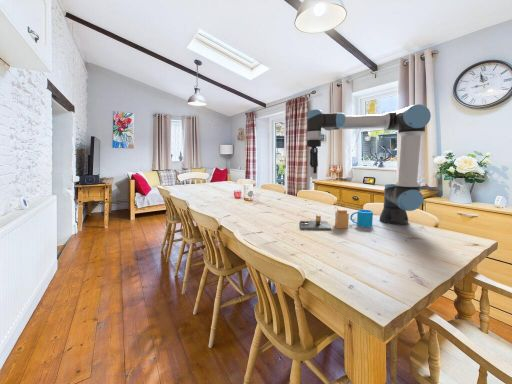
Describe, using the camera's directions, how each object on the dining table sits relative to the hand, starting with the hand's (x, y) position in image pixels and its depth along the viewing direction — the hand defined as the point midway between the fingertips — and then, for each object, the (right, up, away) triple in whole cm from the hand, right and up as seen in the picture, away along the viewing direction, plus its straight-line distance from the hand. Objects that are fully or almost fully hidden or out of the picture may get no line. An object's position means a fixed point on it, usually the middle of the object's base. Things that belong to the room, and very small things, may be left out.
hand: (313, 178), depth 137 cm
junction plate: (+2, -28, +4) cm, 28 cm away
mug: (+29, -27, +6) cm, 40 cm away
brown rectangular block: (+17, -28, +2) cm, 32 cm away
